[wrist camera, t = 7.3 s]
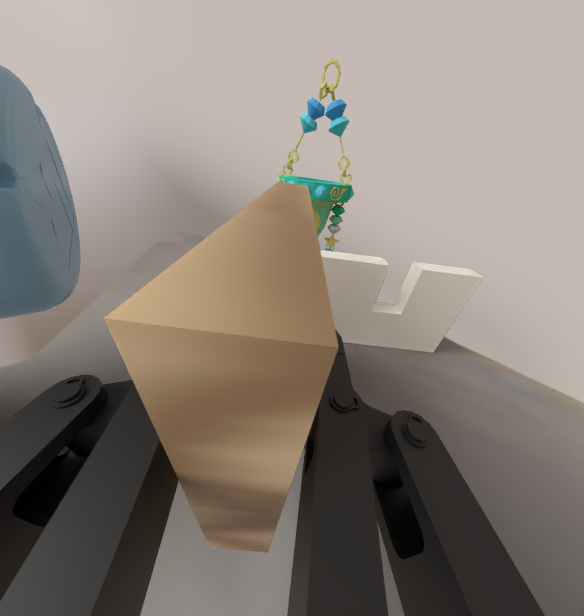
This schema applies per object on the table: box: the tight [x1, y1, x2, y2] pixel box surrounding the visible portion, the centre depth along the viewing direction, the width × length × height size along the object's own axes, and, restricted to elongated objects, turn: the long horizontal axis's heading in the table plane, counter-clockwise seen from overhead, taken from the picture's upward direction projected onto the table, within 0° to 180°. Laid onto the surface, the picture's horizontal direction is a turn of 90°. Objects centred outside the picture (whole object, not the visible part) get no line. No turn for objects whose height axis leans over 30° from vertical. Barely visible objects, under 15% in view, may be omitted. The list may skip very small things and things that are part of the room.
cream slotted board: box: [320, 250, 483, 353], centre depth 28 cm, size 26×2×12 cm, turn 87°
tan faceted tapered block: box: [104, 182, 339, 552], centre depth 13 cm, size 2×18×12 cm, turn 177°
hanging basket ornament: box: [277, 59, 354, 252], centre depth 31 cm, size 11×11×30 cm
